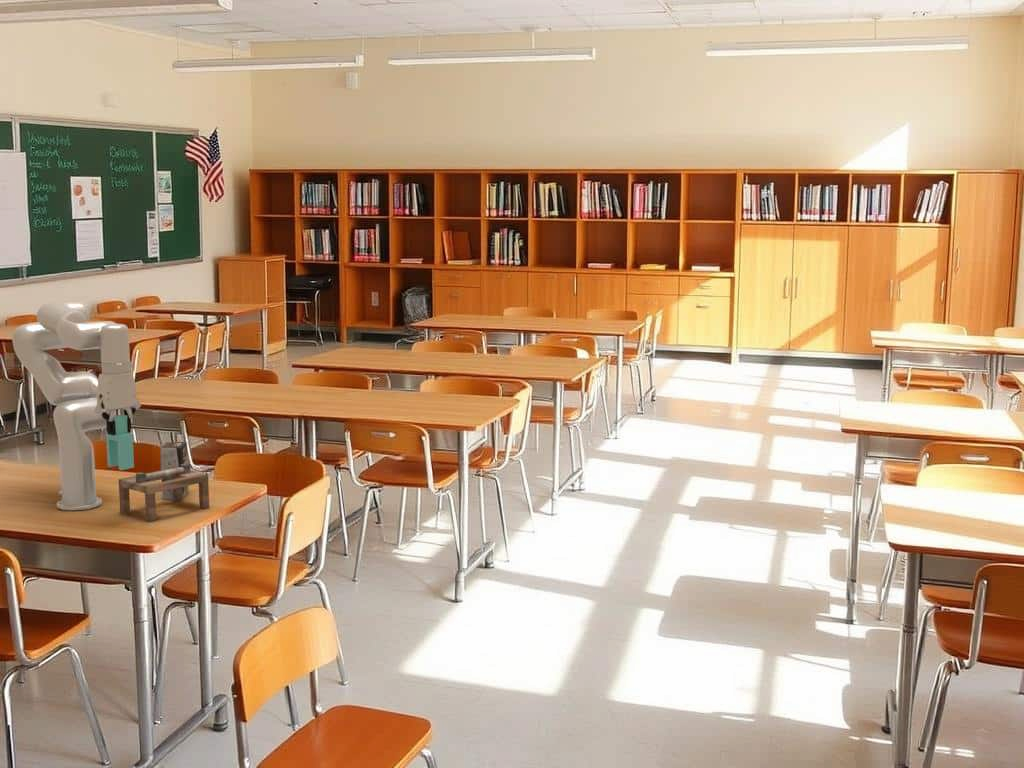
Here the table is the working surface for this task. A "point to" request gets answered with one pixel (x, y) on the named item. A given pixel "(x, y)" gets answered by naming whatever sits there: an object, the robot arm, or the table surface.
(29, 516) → the table surface
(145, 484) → the wooden rack stand
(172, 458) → the coffee box
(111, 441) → the teal stepped block
